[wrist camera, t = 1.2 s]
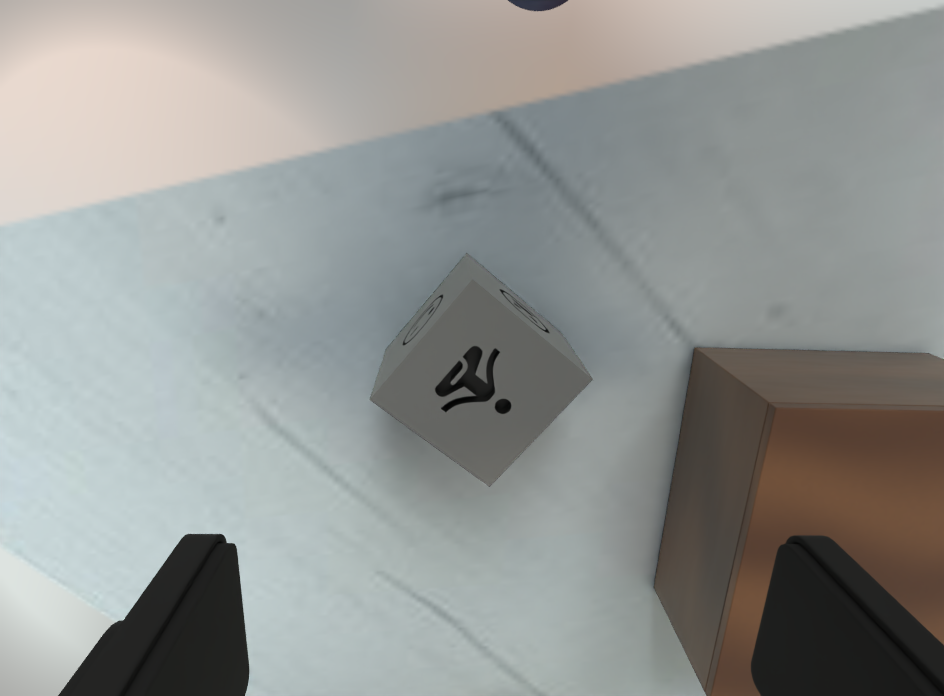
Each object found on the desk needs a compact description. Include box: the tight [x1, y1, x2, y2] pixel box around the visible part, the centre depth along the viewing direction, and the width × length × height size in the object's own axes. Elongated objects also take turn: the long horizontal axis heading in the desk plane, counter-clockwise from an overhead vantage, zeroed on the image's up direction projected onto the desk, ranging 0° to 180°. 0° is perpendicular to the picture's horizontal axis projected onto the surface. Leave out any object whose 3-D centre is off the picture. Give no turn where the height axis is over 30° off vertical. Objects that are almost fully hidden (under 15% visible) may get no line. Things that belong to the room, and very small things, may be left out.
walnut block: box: [654, 347, 944, 696], centre depth 22 cm, size 12×10×6 cm
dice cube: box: [370, 254, 593, 487], centre depth 20 cm, size 5×5×5 cm
